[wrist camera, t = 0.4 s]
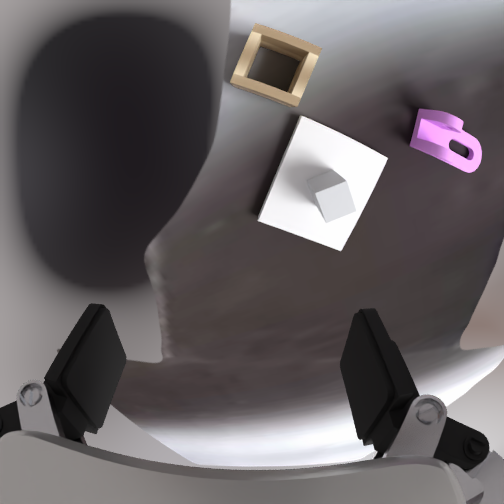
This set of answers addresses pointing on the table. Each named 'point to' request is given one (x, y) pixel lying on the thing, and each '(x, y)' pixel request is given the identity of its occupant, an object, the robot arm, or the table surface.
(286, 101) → the wooden collar
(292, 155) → the plate
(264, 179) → the table surface
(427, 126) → the bracket
